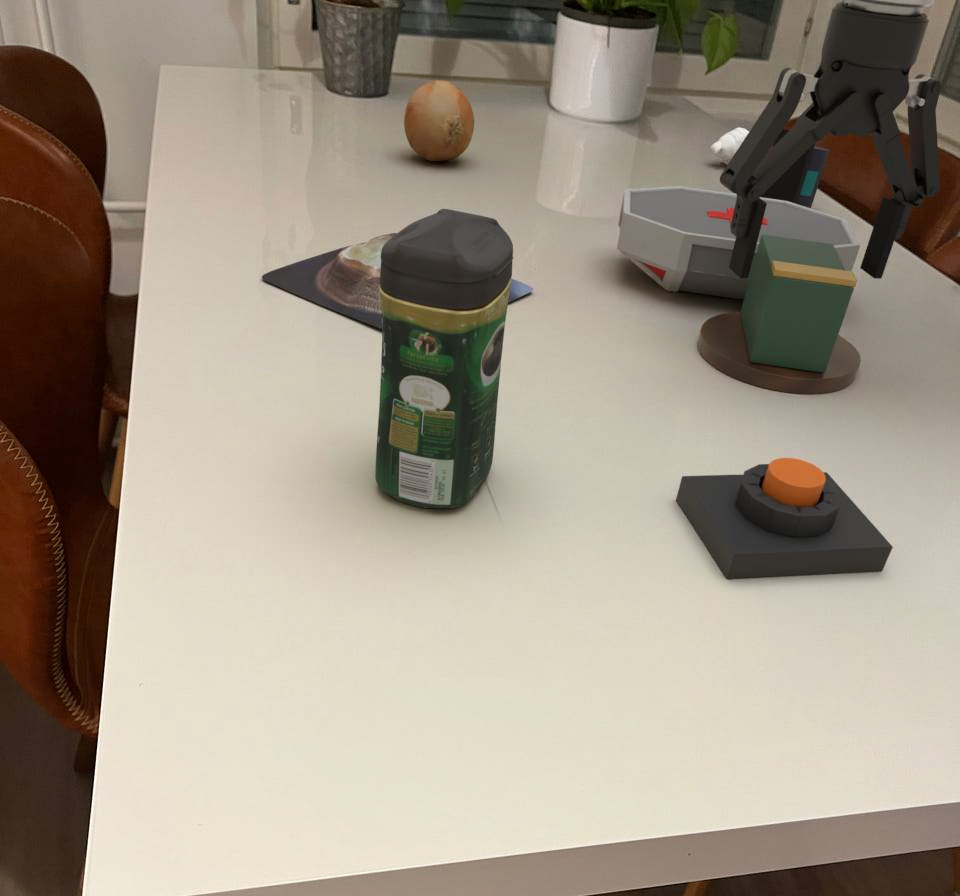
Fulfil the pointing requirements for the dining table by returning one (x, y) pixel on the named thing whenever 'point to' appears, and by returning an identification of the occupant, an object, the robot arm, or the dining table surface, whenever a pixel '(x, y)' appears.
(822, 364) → the box
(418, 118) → the onion
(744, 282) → the first aid kit
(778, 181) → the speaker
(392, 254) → the coffee jar
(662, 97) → the dining table surface
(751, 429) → the dining table surface
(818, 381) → the turntable base
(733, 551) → the button block
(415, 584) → the dining table surface
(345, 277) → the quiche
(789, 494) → the button
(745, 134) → the garlic bulb
